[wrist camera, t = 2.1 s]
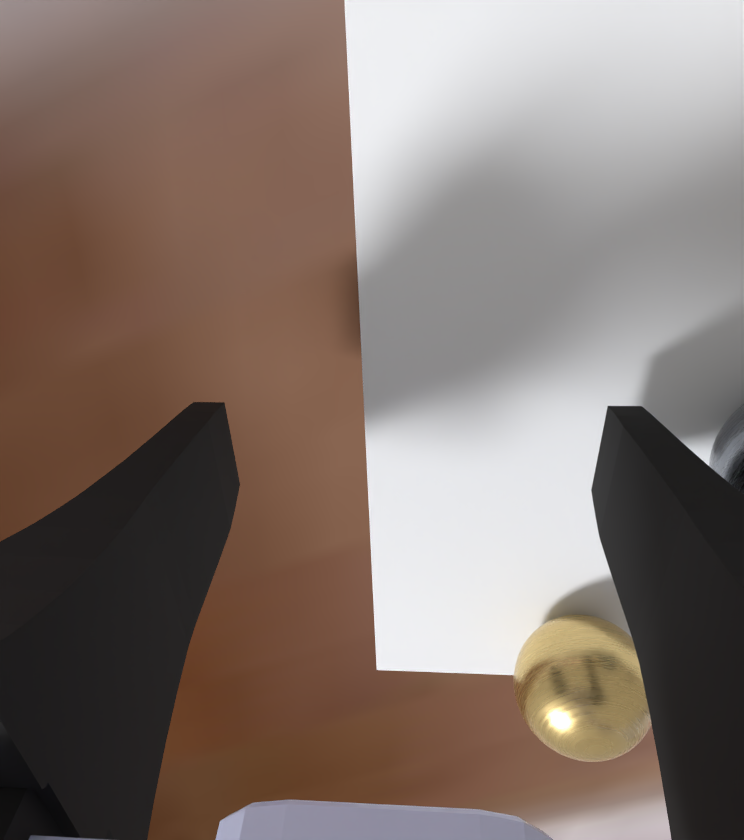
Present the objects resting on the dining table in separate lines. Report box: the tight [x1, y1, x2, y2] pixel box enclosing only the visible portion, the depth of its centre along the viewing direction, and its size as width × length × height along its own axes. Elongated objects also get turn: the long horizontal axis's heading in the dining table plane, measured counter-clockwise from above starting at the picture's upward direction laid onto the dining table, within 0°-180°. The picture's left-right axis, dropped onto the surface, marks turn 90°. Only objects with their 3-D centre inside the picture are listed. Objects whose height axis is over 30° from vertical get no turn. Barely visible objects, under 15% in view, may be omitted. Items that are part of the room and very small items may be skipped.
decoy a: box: [514, 614, 652, 762], centre depth 16 cm, size 3×3×3 cm
